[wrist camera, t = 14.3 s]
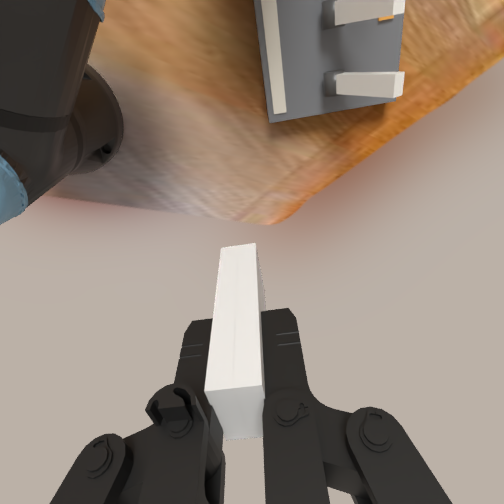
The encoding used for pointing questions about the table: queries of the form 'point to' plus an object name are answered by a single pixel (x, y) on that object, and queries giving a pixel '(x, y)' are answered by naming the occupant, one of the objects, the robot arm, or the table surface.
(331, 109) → the breaker panel
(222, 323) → the robot arm
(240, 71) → the table surface
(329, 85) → the lever
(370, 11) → the lever
